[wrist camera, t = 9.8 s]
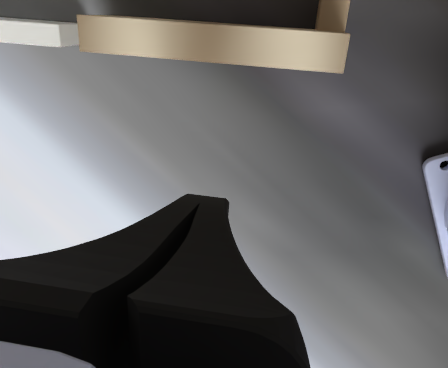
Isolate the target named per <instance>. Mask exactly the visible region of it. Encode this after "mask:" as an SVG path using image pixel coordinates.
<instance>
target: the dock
mask: <svg viewBox="0 0 448 368" xmlns="http://www.w3.org/2000/svg"><path fill="white" fill-rule="evenodd" d="M0 42H4V43H16V44H28V45H40V46H52V47H67V46H75V45H79V36H78V25H77V23H73V22H59V21H46V20H32V19H19V18H5V17H0Z"/></svg>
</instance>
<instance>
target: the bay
mask: <svg viewBox="0 0 448 368" xmlns="http://www.w3.org/2000/svg"><path fill="white" fill-rule="evenodd" d="M349 5H350V0H319V4H318V11H317V18H316V25H315V29H303V28H288V27H274V26H260V25H246V24H231V23H217V22H203V21H189V20H174V19H160V18H146V17H132V16H117V15H77V25H78V36H79V48H80V51H82V52H94V53H106V54H117V55H129V56H141V57H153V58H165V59H177V60H188V61H200V62H212V63H224V64H236V65H248V66H260V67H271V68H283V69H295V70H307V71H319V72H331V73H343V72H344V67H345V61H346V56H347V50H348V45H349V39H350V34H348V33H345V27H346V22H347V16H348V10H349Z"/></svg>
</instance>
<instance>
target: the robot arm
mask: <svg viewBox="0 0 448 368" xmlns="http://www.w3.org/2000/svg"><path fill="white" fill-rule="evenodd" d="M443 161H448V153H445V154H442V155H438V156H434V157H431V158H428V159H427V160H426V161H425V162H424V163H423V173H424V178H425V182H426V187H427V191H428V196H429V200H430V205H431V209H432V214H433V218H434V223H435V227H436V232H437V236H438V241H439V245H440V250H441V254H442V259H443V263H444V268H445V272H446V276H447V278H448V165H447V166H446V167H444V168H440V164H441V162H443ZM228 212H229V202H228V200H227V199H226V198H218V197H209V196H201V195H193V194H186V195H184V196H182V197H181V198H179V199H177V200H176V201H174V202H172V203H171V204H169V205H167V206H166V207H164V208H162V209H160V210H159V211H157V212H155V213H154V214H152V215H150V216H148V217H146V218H144V219H142V220H140V221H138V222H136V223H134V224H133V225H131V226H129V227H126V228H124V229H122V230H120V231H117V232H115V233H112V234H110V235H107V236H104V237H102V238H99V239H96V240H93V241H89V242H86V243H83V244H79V245H76V246H72V247H69V248H65V249H61V250H57V251H53V252H48V253H43V254H38V255H33V256H27V257H21V258H14V259H6V260H0V368H310V364H309V359H308V355H307V350H306V347H305V343H304V340H303V337H302V334H301V331H300V328H299V325H298V322H297V320H296V317H295V315H294V314H293V313H292V312H291V311H290V310H289V309H287V308H286V307H285V306H284V305H282V304H281V303H280V302H279V301H277V300H276V299H275V298H274V297H273V296H271V295H270V294H269V293H268V292H267V291H266V290H265V288H264V287H263V286H262V285H261V284H260V282H259V281H258V280H257V279H256V277H255V276H254V275H253V274H252V272H251V271H250V269H249V268H248V266H247V264H246V263H245V261H244V259H243V257H242V256H241V254H240V252H239V250H238V247H237V245H236V243H235V240H234V237H233V234H232V231H231V228H230V224H229V219H228Z"/></svg>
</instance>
